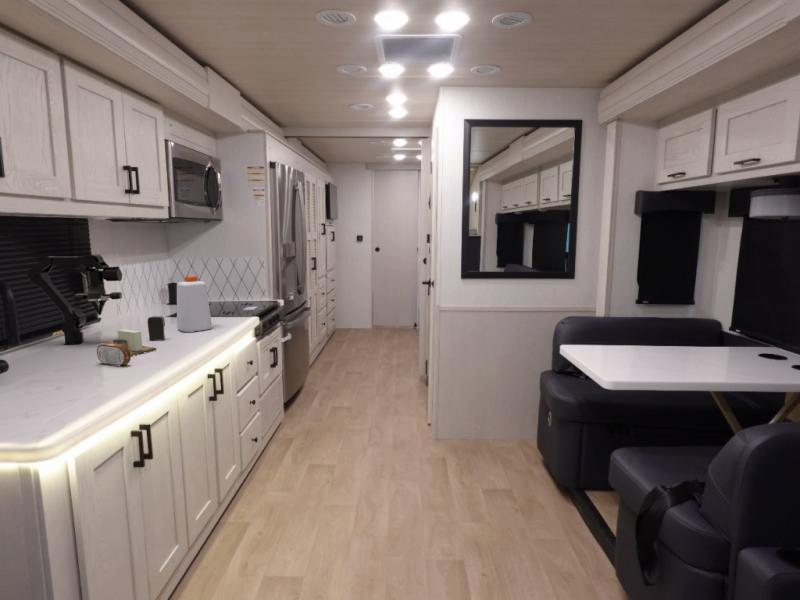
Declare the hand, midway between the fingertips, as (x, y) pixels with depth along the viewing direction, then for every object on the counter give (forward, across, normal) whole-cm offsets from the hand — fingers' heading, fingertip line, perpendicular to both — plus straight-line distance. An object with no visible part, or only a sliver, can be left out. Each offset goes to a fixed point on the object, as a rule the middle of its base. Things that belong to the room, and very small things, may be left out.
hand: (99, 314), depth 224 cm
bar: (+12, +16, -26) cm, 33 cm away
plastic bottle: (+13, +39, +16) cm, 44 cm away
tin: (+13, +14, -46) cm, 50 cm away
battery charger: (+13, +24, -4) cm, 28 cm away
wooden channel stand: (+13, +16, -26) cm, 33 cm away
